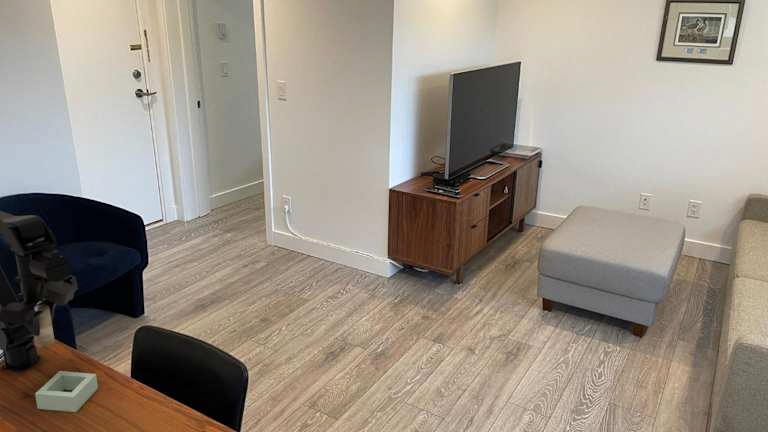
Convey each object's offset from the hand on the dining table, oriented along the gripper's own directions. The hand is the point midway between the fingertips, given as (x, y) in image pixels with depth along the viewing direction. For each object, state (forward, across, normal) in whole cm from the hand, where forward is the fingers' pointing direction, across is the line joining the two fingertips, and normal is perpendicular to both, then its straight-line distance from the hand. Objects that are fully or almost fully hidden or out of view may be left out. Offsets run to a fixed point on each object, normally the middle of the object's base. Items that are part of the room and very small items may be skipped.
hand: (42, 331), depth 138 cm
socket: (+13, -7, -9) cm, 17 cm away
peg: (+3, 0, 0) cm, 3 cm away
